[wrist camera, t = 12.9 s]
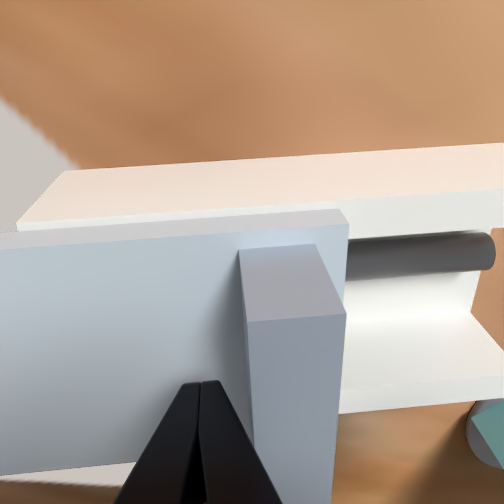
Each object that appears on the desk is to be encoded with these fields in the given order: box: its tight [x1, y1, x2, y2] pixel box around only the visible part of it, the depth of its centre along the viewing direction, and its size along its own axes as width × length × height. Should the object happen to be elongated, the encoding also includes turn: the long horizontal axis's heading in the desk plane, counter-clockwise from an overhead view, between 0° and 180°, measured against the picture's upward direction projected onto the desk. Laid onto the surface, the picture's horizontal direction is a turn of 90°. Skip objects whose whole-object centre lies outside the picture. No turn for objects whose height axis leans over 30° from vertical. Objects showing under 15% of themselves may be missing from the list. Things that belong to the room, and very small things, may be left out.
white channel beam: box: [16, 143, 504, 414], centre depth 13 cm, size 13×7×4 cm, turn 92°
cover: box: [0, 208, 349, 504], centre depth 10 cm, size 10×7×3 cm
